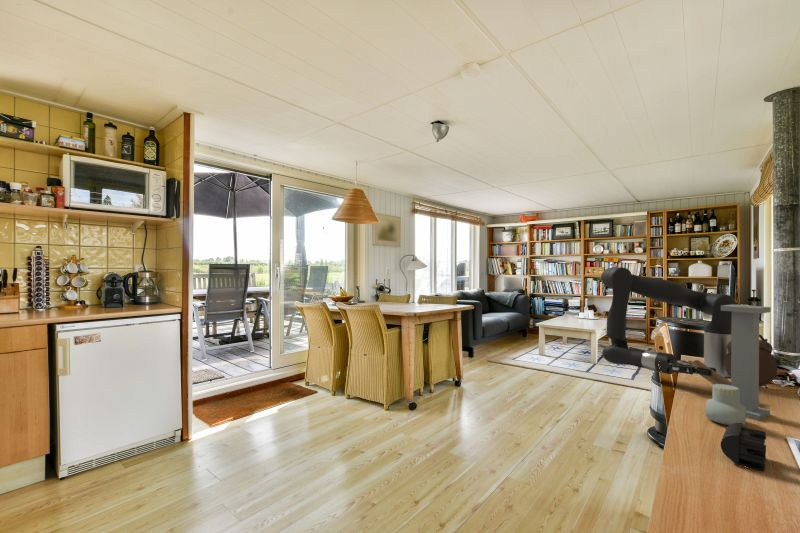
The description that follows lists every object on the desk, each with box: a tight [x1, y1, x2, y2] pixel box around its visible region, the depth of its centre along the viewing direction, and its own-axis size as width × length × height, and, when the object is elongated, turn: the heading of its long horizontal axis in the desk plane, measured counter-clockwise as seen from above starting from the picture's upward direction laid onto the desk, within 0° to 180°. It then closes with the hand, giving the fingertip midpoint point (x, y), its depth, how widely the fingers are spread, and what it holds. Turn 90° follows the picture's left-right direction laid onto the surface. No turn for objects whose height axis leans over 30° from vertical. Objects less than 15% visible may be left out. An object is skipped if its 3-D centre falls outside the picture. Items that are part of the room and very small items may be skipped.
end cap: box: [720, 423, 767, 473], centre depth 87 cm, size 10×7×7 cm
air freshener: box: [705, 384, 747, 426], centre depth 108 cm, size 11×8×10 cm
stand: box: [721, 304, 772, 422], centre depth 116 cm, size 9×9×32 cm
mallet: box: [691, 359, 731, 386], centre depth 130 cm, size 6×16×4 cm, turn 32°
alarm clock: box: [725, 333, 778, 389], centre depth 142 cm, size 15×7×20 cm, turn 84°
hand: (713, 372), depth 132 cm, fingers closed on mallet, 3 cm apart
